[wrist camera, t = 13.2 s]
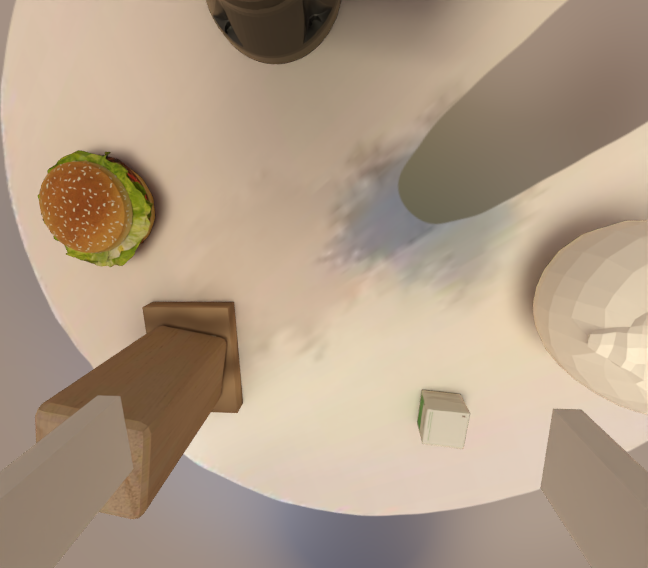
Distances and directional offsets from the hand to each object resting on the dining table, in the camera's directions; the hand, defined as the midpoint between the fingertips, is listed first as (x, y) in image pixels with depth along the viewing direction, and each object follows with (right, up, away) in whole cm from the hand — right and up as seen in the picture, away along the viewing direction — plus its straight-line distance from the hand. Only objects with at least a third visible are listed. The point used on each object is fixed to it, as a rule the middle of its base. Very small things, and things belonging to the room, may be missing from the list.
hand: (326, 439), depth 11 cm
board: (-19, -6, +41) cm, 45 cm away
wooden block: (-19, -6, +39) cm, 43 cm away
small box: (+17, -13, +40) cm, 45 cm away
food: (-28, +15, +37) cm, 49 cm away
